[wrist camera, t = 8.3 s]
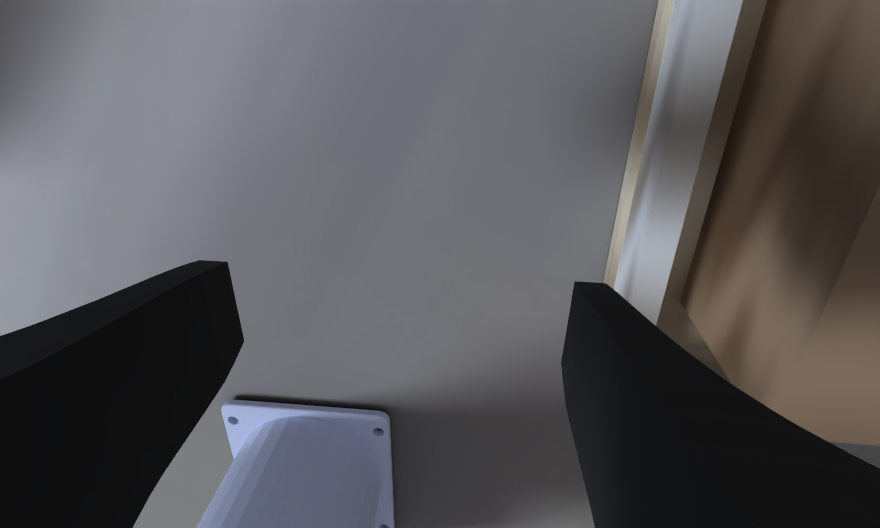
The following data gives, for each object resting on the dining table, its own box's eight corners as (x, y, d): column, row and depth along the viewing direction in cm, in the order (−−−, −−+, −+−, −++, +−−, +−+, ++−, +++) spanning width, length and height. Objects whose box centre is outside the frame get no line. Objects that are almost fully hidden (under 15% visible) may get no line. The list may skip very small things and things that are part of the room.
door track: (816, 366, 20) (859, 413, 18) (589, 351, 21) (601, 395, 18) (1106, -243, 11) (1258, -303, 9) (705, -236, 12) (755, -292, 10)
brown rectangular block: (778, 307, 18) (910, 448, 12) (680, 302, 18) (765, 436, 13) (937, -89, 13) (1310, -165, 7) (793, -90, 13) (1036, -164, 7)
